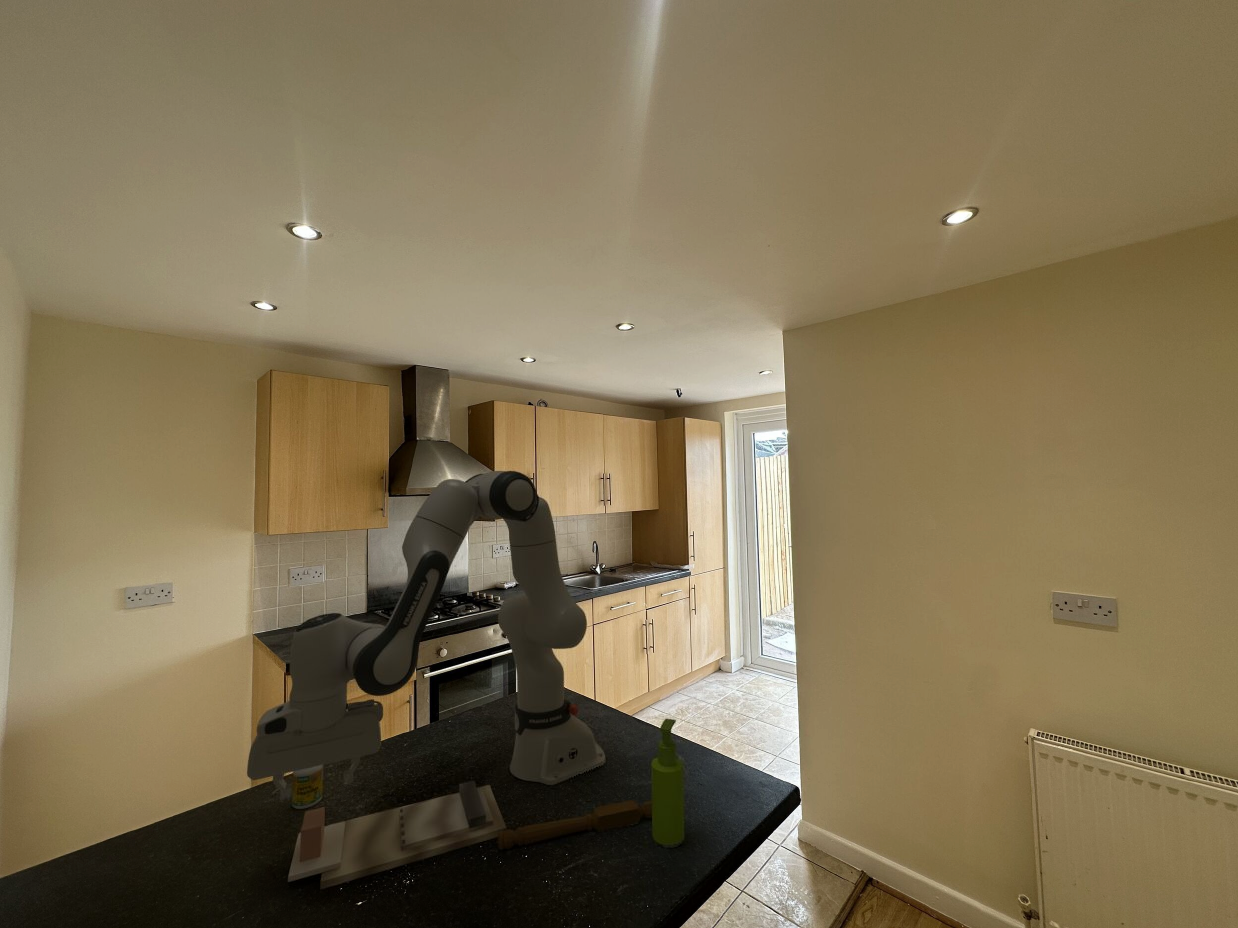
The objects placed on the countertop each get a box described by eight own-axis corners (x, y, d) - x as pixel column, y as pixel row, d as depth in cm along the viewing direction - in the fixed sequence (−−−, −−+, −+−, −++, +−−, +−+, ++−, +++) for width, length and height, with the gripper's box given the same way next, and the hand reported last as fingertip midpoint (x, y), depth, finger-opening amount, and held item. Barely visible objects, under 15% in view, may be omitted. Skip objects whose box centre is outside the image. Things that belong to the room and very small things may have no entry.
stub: (344, 825, 94) (346, 793, 94) (340, 866, 83) (341, 830, 84) (298, 837, 91) (300, 803, 91) (287, 881, 80) (289, 843, 80)
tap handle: (498, 826, 91) (651, 795, 100) (498, 844, 91) (651, 811, 100) (499, 837, 88) (656, 804, 97) (499, 855, 88) (657, 821, 97)
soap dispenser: (688, 827, 94) (686, 718, 96) (680, 851, 88) (678, 733, 90) (658, 821, 96) (656, 714, 98) (648, 844, 90) (647, 729, 92)
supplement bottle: (321, 791, 108) (323, 745, 108) (322, 804, 103) (324, 755, 104) (291, 800, 105) (293, 752, 105) (291, 813, 100) (293, 763, 101)
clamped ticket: (489, 790, 107) (489, 772, 108) (506, 834, 93) (506, 813, 93) (329, 831, 94) (329, 811, 95) (320, 889, 80) (321, 865, 80)
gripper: (383, 691, 96) (383, 765, 95) (254, 714, 87) (252, 796, 86) (383, 703, 90) (383, 782, 89) (245, 729, 81) (243, 816, 81)
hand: (318, 789), depth 88 cm, fingers open, 8 cm apart
